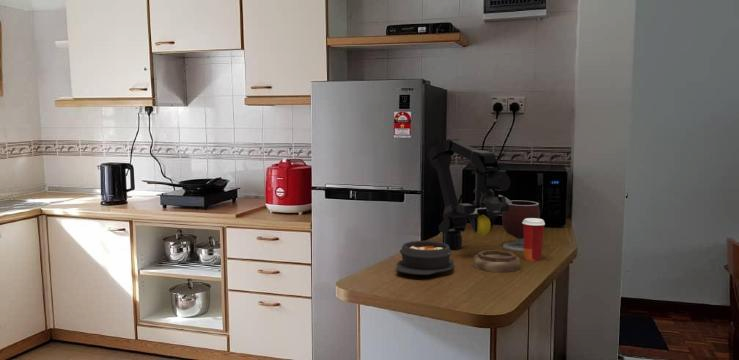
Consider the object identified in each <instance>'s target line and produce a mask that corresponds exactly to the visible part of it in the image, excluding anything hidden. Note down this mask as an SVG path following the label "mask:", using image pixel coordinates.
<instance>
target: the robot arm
mask: <svg viewBox="0 0 739 360" xmlns="http://www.w3.org/2000/svg"><path fill="white" fill-rule="evenodd" d="M455 154H457V155H459V156H461V157H463V158H465V159H467V160H469V162H470V165H472V166H473V167H474V168H475V169H474V170H472V171H471V174H472V175H475V189H473V191H472V192H473V194H475V195H474V199H475V200H473V201H472V204H471V203H467V202H466V203H459V201H458V198H457V193H456V189H455V186H454V181H453V176H452V173H451V169H450V168H451V163H452V161H453V160H452V157H453V156H454V155H455ZM427 155H428V160H429V163H430V165H431V167H432V168H434V169H435V170H436V173H437V178H438V182H439V185H440V190H441V195H442V199H443V204H444V207H445V208H444V210H443V214H442V219H443V220H442V221H441V223H439V224H438V230H439V233H442V242H441V243H445V244H447V245H449V247H450V250H451V251H454V250H455V251H456V250H459V249H462V248H464V246H463V235H462V232H465V230H466V227H467V224H468V220H469V222H470V224H471V227H472V230H473V232H474V233H477V219H478V217H479V216H481V215H480V213H478V211H486V212H485V213H486V216H487V217H488V218H489V220H490V223H491V228H490V231H489V232H492V228H493V226H494V224H495V221H496V219H497V218H498V216H499V215H501V214H502V211H509V205H508V203H506V198H507V197H505V196H503V195H502V196H503V197H498V196H496V197H495V190H496V191H500V192H501V191H502V192H506V191H508V190H509V189H510V186H511V182H512V181H511V178H510V176H509V175H508V174H507V170H502V168H501V166H500V165H499V162H498V159H497V157H496V154H495V153H494V152H492V151H488V150H484V149H483V150H482V149H481V150H480V149H477V148H474V147H473V146H472V145H471V146H470V145H469V144H466V143H465V142H463V141H460V140H459V139H458V138H447V139H445V140H443V141H442V142H441V143H438V144H436V145H434V146H432V147H431V148H429V150H428V152H427ZM493 190H494V191H493Z"/></svg>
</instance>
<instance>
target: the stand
mask: <svg viewBox="0 0 739 360" xmlns="http://www.w3.org/2000/svg"><path fill="white" fill-rule="evenodd" d="M520 264H521V259H520V256H519V257H518V256H517V255H516V254H515V253H514V252H512V251H511V252H510V251H505V250H501V249H495V250H494V249H489V250H487V249H485V250H482V251H479V252H477V254H475V255H473V267H474V268H475V269H477V270H479V271H480V270H481V271H485V272H491V273H513V272H516V271H518V270H520V268H521V265H520Z"/></svg>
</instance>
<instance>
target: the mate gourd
mask: <svg viewBox="0 0 739 360" xmlns="http://www.w3.org/2000/svg"><path fill="white" fill-rule="evenodd" d="M497 197H498V198H499V197H503V195H501V194H498V196H497ZM505 198H506V203H508V205H509V211H501V212H502V215H501V221H502V222H501V223H502V226H503V227H502V228H503V229H504V231H505V232H506V234H508V235H510V236H512V237H514V238H515V241H513V242H512V241H511V242H510V241H509V242H505V243H503V248H504V249H506V250H511V251H519V252H524V227H523V223H522V222H524V221H523V220H524V219H526V218H537V219H541V218H540V217H541V212H540V205H539V204H540V203H539V202H536V201H532V200H531V201H530V200H520V199H519V200H516V199H515V200H513V199H512V200H510V199H508V197H505Z"/></svg>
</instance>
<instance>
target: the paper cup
mask: <svg viewBox="0 0 739 360" xmlns="http://www.w3.org/2000/svg"><path fill="white" fill-rule="evenodd" d="M523 221H524V222H522V223H523V227H524V238H523V239H524V251H523V255H524V256H523V257H524V258H523V259H524V260H526V261H528V262H529V261H530V262H531V261H532V262H539V261H541V259H542V252H543V244H544V243H543V242H544V234H545V233H544V232H545V225H546V223H545V220H544V219H542V218H540V219H537V218H526V219H524V220H523Z"/></svg>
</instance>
